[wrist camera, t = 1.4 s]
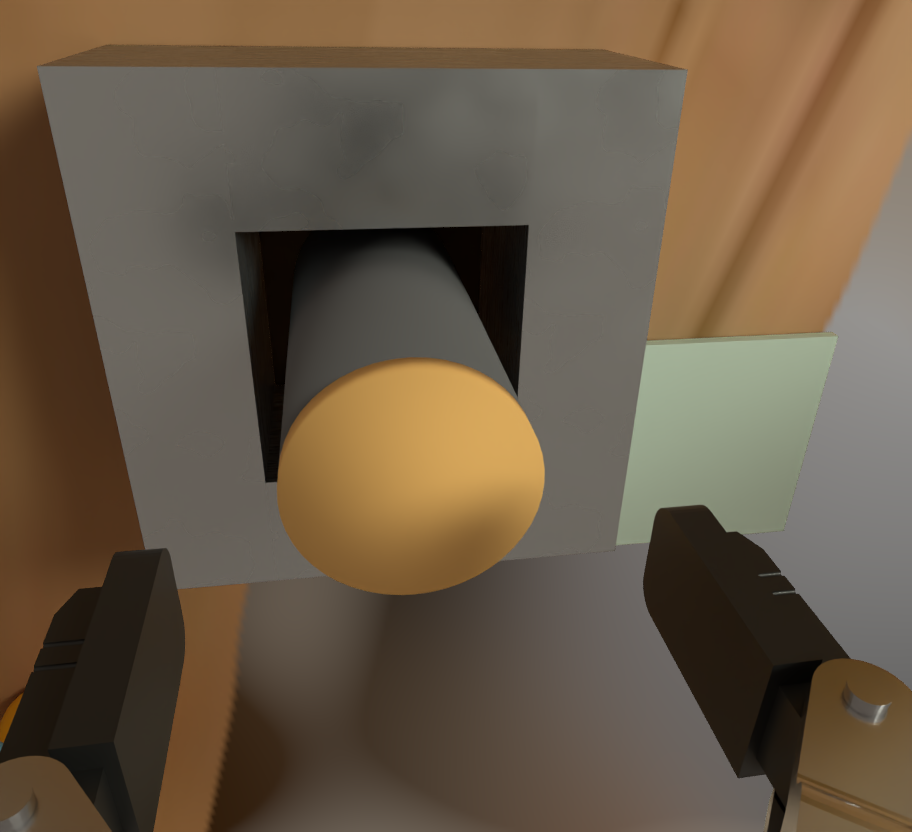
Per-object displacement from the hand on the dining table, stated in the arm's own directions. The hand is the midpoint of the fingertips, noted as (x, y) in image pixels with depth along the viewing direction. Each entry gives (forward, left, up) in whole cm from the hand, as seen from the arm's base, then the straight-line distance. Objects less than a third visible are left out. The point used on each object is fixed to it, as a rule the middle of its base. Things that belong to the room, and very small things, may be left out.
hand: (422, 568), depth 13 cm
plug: (0, 0, -14) cm, 14 cm away
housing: (0, 0, -14) cm, 14 cm away
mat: (-13, +7, -14) cm, 20 cm away
